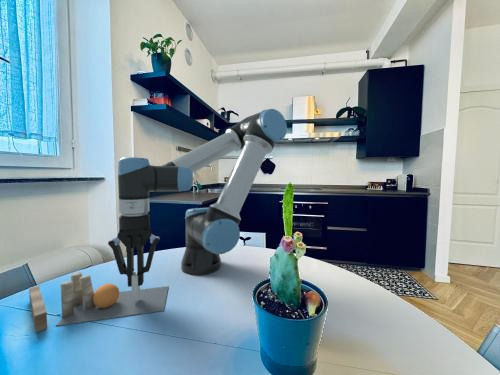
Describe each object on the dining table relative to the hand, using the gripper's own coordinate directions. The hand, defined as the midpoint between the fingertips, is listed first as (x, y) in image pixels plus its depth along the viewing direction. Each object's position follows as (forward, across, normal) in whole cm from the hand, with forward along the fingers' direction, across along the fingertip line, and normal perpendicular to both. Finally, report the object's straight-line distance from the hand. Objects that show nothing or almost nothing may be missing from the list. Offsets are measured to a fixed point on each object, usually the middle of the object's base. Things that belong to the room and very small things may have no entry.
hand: (136, 296), depth 63 cm
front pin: (+2, -11, 0) cm, 11 cm away
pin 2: (+2, -15, +3) cm, 16 cm away
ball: (-1, -7, 0) cm, 7 cm away
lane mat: (+2, -4, 0) cm, 4 cm away
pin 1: (+2, -15, -2) cm, 16 cm away
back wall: (+2, -23, 0) cm, 23 cm away
